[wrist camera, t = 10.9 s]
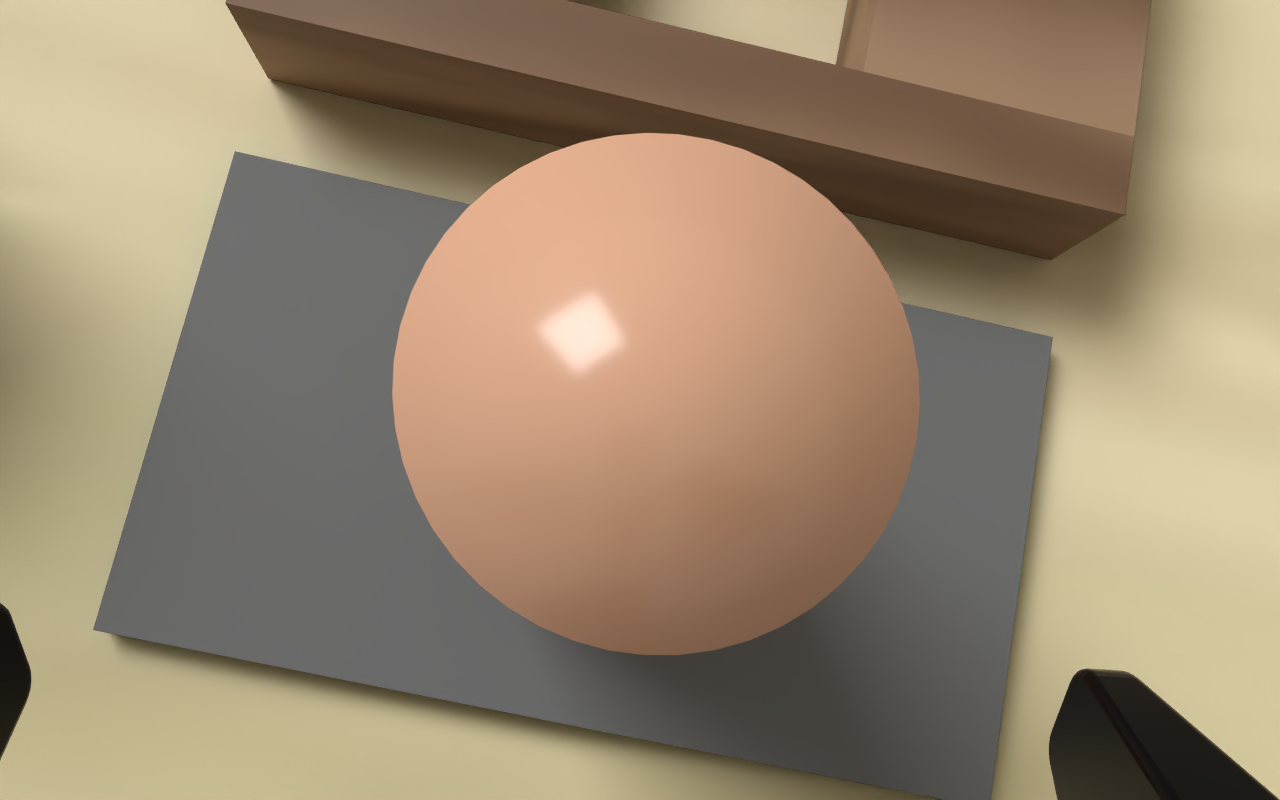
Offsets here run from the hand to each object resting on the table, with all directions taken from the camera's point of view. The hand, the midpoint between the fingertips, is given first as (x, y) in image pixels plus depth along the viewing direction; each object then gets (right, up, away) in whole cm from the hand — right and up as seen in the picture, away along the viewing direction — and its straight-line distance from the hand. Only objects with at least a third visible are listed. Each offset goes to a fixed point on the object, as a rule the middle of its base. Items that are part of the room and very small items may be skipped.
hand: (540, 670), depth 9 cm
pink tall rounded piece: (0, +1, +12) cm, 12 cm away
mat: (0, +1, +13) cm, 13 cm away
